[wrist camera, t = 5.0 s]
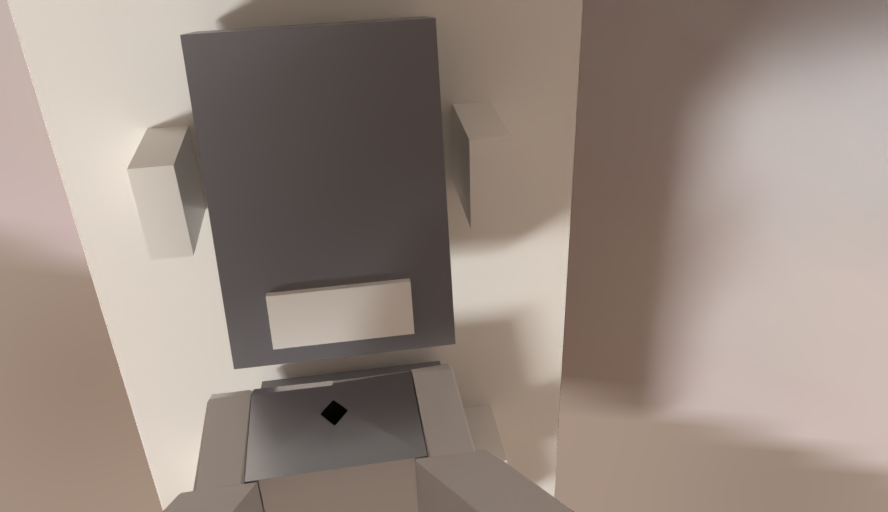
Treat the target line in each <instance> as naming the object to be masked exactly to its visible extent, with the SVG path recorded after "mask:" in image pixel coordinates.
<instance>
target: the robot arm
mask: <svg viewBox="0 0 888 512" xmlns="http://www.w3.org/2000/svg"><path fill="white" fill-rule="evenodd" d="M163 512H574V511H572V510H571V509H570V508H568V507H567V506H566V505H564V504H563V503H561V502H560V501H558V500H557V499H556V498H554V497H553V496H552V495H550V494H549V493H548V492H546V491H545V490H543V489H542V488H541V487H539V486H538V485H536V484H535V483H534V482H532V481H531V480H529V479H528V478H527V477H525V476H524V475H523V474H521V473H520V472H518V471H517V470H516V469H514V468H513V467H511V466H510V465H509V464H507V463H506V462H504V461H503V460H502V459H500V458H499V457H498V456H496V455H495V454H493V453H492V452H491V451H489V450H488V449H485V450H477V451H476V450H475V446H474V443H473V439H472V435H471V432H470V428H469V425H468V421H467V418H466V414H465V411H464V407H463V403H462V400H461V396H460V393H459V389H458V386H457V382H456V379H455V375H454V371H453V368H452V367H451V366H450V365H449V364H443V365H437V366H430V367H424V368H418V369H411V371H406V372H398V373H391V374H383V375H376V376H368V377H361V378H353V379H346V380H338V381H326V382H316V383H307V384H298V385H288V386H279V387H269V388H260V389H254V390H253V391H252V390H245V391H237V392H228V393H220V394H212V395H211V397H210V399H209V400H208V402H207V407H206V413H205V419H204V426H203V432H202V438H201V445H200V451H199V457H198V463H197V470H196V476H195V482H194V489H193V491H190V492H183V493H180V494H179V495H178V496H177V497H176V498H175V499H174V500H173V501H172V502H171V503H170V504H169V505H168V506H167V507H166V508H165V510H164V511H163Z"/></svg>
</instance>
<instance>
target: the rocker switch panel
mask: <svg viewBox="0 0 888 512" xmlns="http://www.w3.org/2000/svg"><path fill="white" fill-rule="evenodd" d="M7 1H8V4H9V8H10V11H11V14H12V18H13V21H14V24H15V27H16V31H17V34H18V37H19V41H20V44H21V47H22V50H23V54H24V57H25V60H26V63H27V67H28V70H29V73H30V77H31V80H32V83H33V86H34V90H35V93H36V96H37V100H38V103H39V106H40V109H41V113H42V116H43V119H44V123H45V126H46V129H47V132H48V136H49V139H50V142H51V145H52V149H53V152H54V155H55V159H56V162H57V165H58V168H59V172H60V175H61V178H62V182H63V185H64V188H65V191H66V195H67V198H68V201H69V204H70V208H71V211H72V214H73V218H74V221H75V224H76V227H77V231H78V234H79V237H80V241H81V244H82V247H83V250H84V254H85V257H86V260H87V264H88V267H89V270H90V273H91V277H92V280H93V283H94V286H95V290H96V293H97V296H98V300H99V303H100V306H101V309H102V313H103V316H104V319H105V322H106V326H107V329H108V332H109V336H110V339H111V342H112V345H113V349H114V352H115V355H116V359H117V362H118V365H119V368H120V372H121V375H122V378H123V381H124V385H125V388H126V391H127V394H128V398H129V401H130V404H131V408H132V411H133V414H134V418H135V421H136V424H137V428H138V431H139V434H140V437H141V441H142V443H143V447H144V450H145V453H146V457H147V460H148V463H149V467H150V470H151V473H152V477H153V480H154V483H155V487H156V490H157V492H158V496H159V500H160V503H161V506H162V509H163V511H164V510H165V508H166V507H167V506H168V505H169V504H170V503H171V502H172V501H173V500H174V499H175V498H176V497H177V496H178V495H179V494H180V493H183V492H190V491H193V489H194V482H195V476H196V470H197V463H198V457H199V451H200V445H201V438H202V432H203V426H204V419H205V413H206V407H207V402H208V400H209V399H210V397H211V395H212V394H220V393H228V392H237V391H245V390H252V391H253V390H254V389H260V388H261V385H262V381H270V380H279V379H287V378H296V377H304V376H313V375H322V374H330V373H339V372H347V371H356V370H365V369H373V368H382V367H390V366H399V365H408V364H416V363H425V362H433V361H440V364H441V365H443V364H449V365H450V366H451V367H452V368H453V371H454V375H455V379H456V382H457V386H458V389H459V393H460V396H461V400H462V403H463V407H464V411H465V414H466V418H467V421H468V425H469V428H470V432H471V435H472V439H473V443H474V446H475V450H476V451H477V450H485V449H488V450H489V451H491V452H492V453H493V454H495V455H496V456H498V457H499V458H500V459H502V460H503V461H504V462H506V463H507V464H509V465H510V466H511V467H513V468H514V469H516V470H517V471H518V472H520V473H521V474H523V475H524V476H525V477H527V478H528V479H529V480H531V481H532V482H534V483H535V484H536V485H538V486H539V487H541V488H542V489H543V490H545V491H546V492H548V493H549V494H550V495H552V496H553V497H554V492H555V475H556V458H557V440H558V423H559V406H560V389H561V372H562V355H563V337H564V320H565V303H566V286H567V268H568V251H569V234H570V216H571V199H572V182H573V165H574V147H575V130H576V113H577V96H578V78H579V61H580V44H581V27H582V9H583V0H7ZM420 16H427V17H433V18H436V31H437V48H438V64H439V80H440V97H441V113H442V130H443V146H444V162H445V179H446V195H447V212H448V228H449V244H450V261H451V277H452V294H453V310H454V326H455V343H456V344H452V345H443V346H435V347H426V348H417V349H408V350H400V351H391V352H382V353H373V354H365V355H356V356H347V357H338V358H329V359H321V360H312V361H303V362H294V363H286V364H277V365H268V366H259V367H251V368H242V369H234V367H233V360H232V354H231V348H230V342H229V336H228V329H227V323H226V317H225V311H224V305H223V298H222V292H221V286H220V280H219V274H218V268H217V261H216V255H215V249H214V243H213V237H212V230H211V224H210V218H209V212H208V206H207V199H206V193H205V187H204V181H203V175H202V169H201V162H200V156H199V150H198V144H197V138H196V131H195V125H194V119H193V113H192V107H191V100H190V94H189V88H188V82H187V76H186V69H185V63H184V57H183V51H182V45H181V39H180V35H182V34H187V33H191V32H196V31H210V30H225V29H240V28H255V27H270V26H285V25H300V24H315V23H330V22H345V21H360V20H375V19H390V18H405V17H420Z"/></svg>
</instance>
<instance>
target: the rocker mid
mask: <svg viewBox="0 0 888 512" xmlns="http://www.w3.org/2000/svg"><path fill="white" fill-rule="evenodd" d="M180 39H181V45H182V51H183V57H184V63H185V69H186V76H187V82H188V88H189V94H190V100H191V107H192V113H193V119H194V125H195V131H196V138H197V144H198V150H199V156H200V162H201V169H202V175H203V181H204V187H205V193H206V199H207V206H208V212H209V218H210V224H211V230H212V237H213V243H214V249H215V255H216V261H217V268H218V274H219V280H220V286H221V292H222V298H223V305H224V311H225V317H226V323H227V329H228V336H229V342H230V348H231V354H232V360H233V367H234V369H242V368H251V367H259V366H268V365H277V364H286V363H294V362H303V361H312V360H321V359H329V358H338V357H347V356H356V355H365V354H373V353H382V352H391V351H400V350H408V349H417V348H426V347H435V346H443V345H452V344H456V343H455V326H454V310H453V294H452V277H451V261H450V244H449V228H448V212H447V195H446V179H445V162H444V146H443V130H442V113H441V97H440V80H439V64H438V48H437V31H436V18H433V17H427V16H420V17H405V18H390V19H375V20H360V21H345V22H330V23H315V24H300V25H285V26H270V27H255V28H240V29H225V30H210V31H196V32H191V33H187V34H182V35H180Z"/></svg>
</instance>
